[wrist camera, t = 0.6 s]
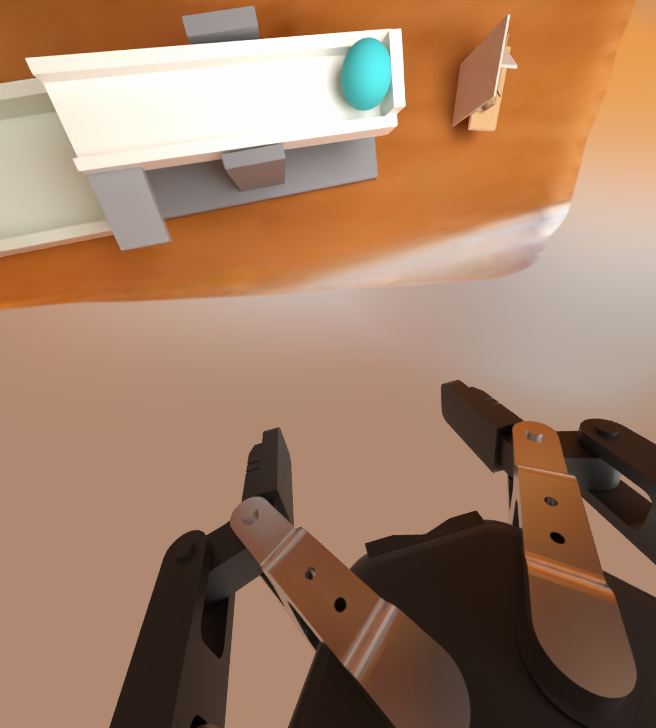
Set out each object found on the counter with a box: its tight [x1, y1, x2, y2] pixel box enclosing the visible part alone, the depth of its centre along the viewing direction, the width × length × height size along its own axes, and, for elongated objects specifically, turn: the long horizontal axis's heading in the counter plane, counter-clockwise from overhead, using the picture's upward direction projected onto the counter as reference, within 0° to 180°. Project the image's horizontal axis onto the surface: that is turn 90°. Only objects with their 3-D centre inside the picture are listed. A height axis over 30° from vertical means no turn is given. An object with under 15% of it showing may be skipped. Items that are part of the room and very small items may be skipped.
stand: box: [145, 6, 378, 220], centre depth 25 cm, size 11×27×10 cm, turn 100°
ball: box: [341, 37, 392, 111], centre depth 22 cm, size 4×4×4 cm
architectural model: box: [452, 15, 517, 131], centre depth 29 cm, size 3×7×7 cm, turn 0°
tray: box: [0, 78, 114, 257], centre depth 27 cm, size 12×20×4 cm, turn 100°
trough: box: [25, 29, 405, 251], centre depth 23 cm, size 12×26×6 cm, turn 100°
